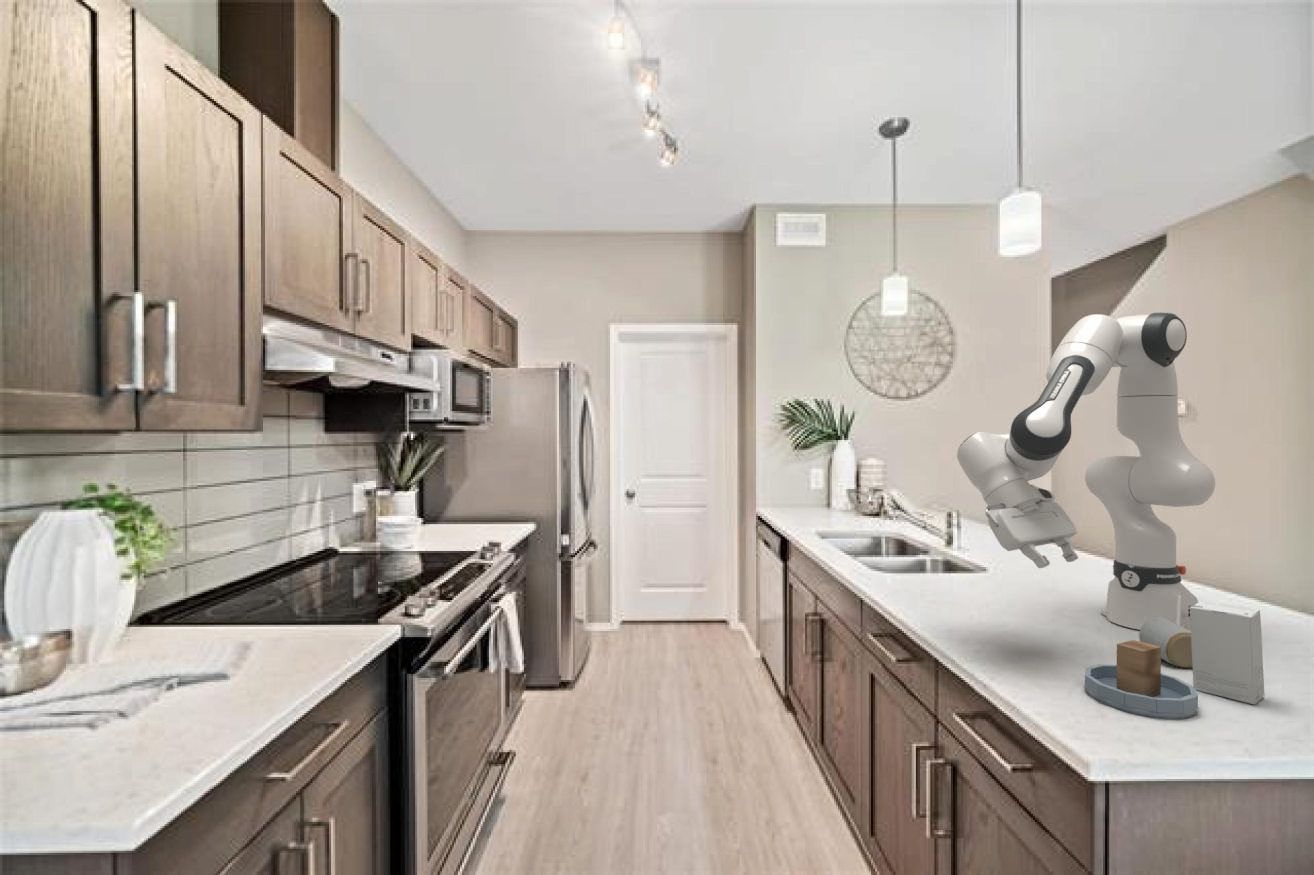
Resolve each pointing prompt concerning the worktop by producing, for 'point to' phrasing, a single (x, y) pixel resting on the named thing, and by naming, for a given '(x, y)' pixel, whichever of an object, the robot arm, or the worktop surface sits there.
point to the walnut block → (1139, 668)
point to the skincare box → (1227, 651)
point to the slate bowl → (1171, 704)
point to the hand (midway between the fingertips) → (1059, 563)
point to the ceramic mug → (1169, 641)
